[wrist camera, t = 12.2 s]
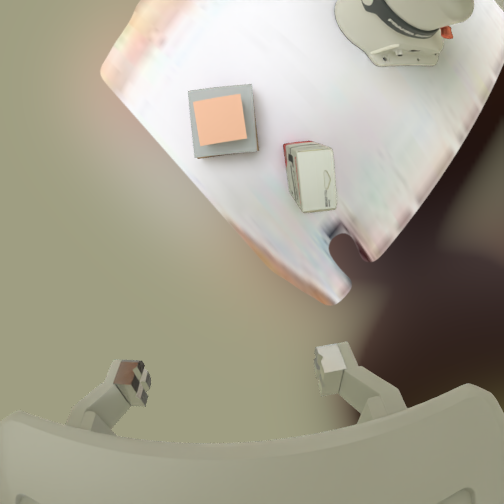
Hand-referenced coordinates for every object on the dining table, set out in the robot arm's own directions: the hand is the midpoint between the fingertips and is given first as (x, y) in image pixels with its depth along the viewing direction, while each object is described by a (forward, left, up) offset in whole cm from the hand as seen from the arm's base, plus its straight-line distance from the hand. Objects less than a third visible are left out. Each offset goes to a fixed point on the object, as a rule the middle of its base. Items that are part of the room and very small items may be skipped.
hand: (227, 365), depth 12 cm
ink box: (-11, -2, -37) cm, 39 cm away
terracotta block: (0, -11, -27) cm, 29 cm away
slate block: (0, -11, -32) cm, 34 cm away
